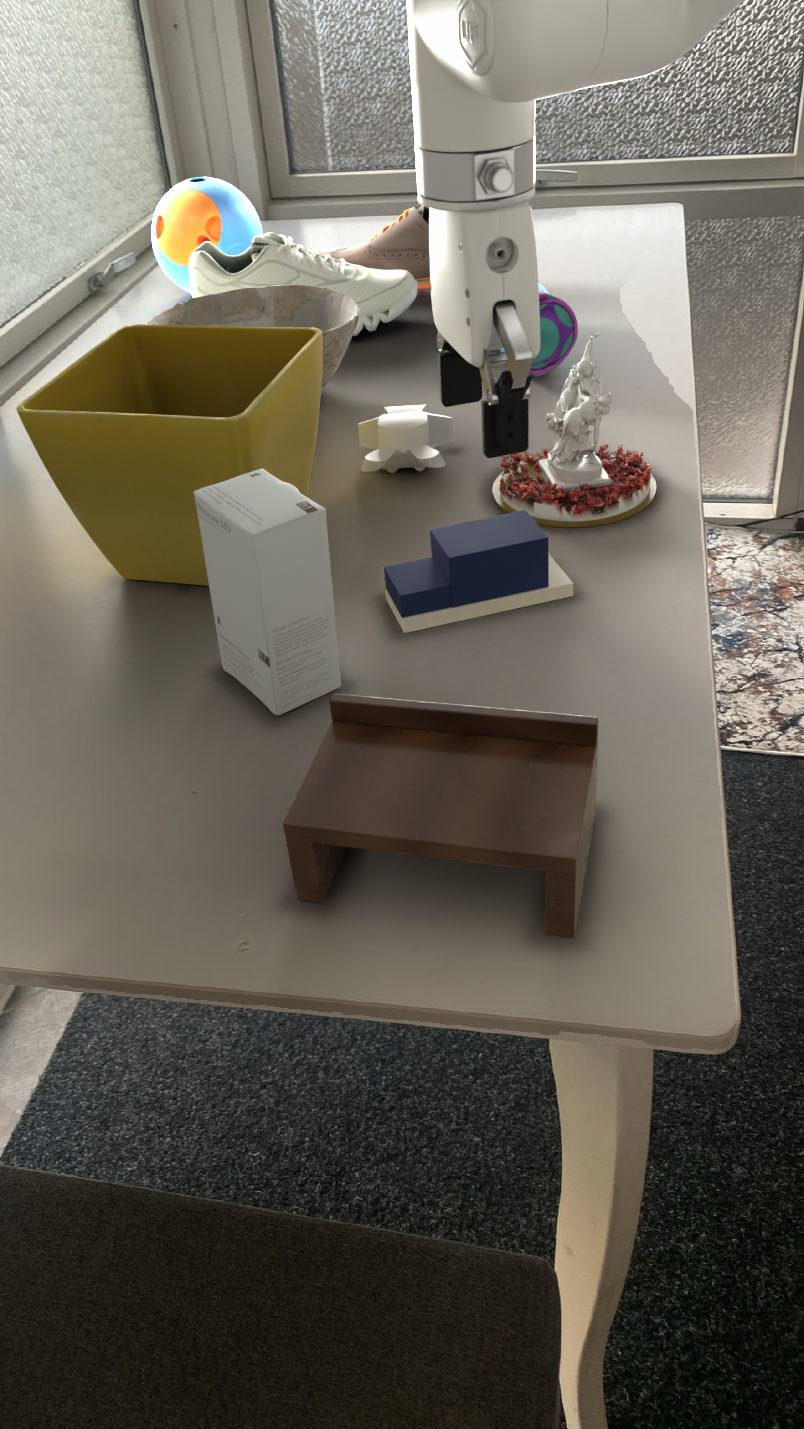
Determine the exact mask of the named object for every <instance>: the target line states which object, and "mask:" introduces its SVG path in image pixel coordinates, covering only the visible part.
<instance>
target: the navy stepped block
mask: <svg viewBox="0 0 804 1429" xmlns="http://www.w3.org/2000/svg"><path fill="white" fill-rule="evenodd" d="M429 538H430V551H431V556H430V557H425V558H421V559H415V560H410V561H406V562H405V561H404V562H401V563H396V564H391V565H386V566H384V567H383V574H384V575H383V576H384V583H385V587H384V591H385V592H384V593H385V600H386V602H387V604H388V606H389V608H390V610H391V611H392V613H393V615H394V617H395V619H396V621H397V622H398V625H399V626H400V628H401V630H402V631H403V634H406V633H411V632H416V631H420V630H425V629H430V628H434V627H439V626H443V625H448V624H452V623H457V622H462V621H466V620H470V619H475V618H479V617H485V616H489V615H492V614H498V613H502V612H506V611H507V612H508V611H511V610H516V609H521V608H525V607H530V606H535V605H540V604H544V603H547V602H552V601H558V600H562V599H566V598H571V597H574V582H573V581H572V580H571V579H570V577H569V576H568V575H567V573H565V570H563V569H562V568H561V566H560V565H559V564H558V562H556V560H555V559H554V558H553V557H552V555H551V554H550V553H549V549H550V546H549V545H550V544H549V543H550V540H549V538H550V537H549V536H548V535H547V533H546V532H545V531H544V530H543V529H542V528H541V527H540V524H537V523H536V522H535V521H534V520H533V518H532V517H531V516H530V515H529V514H528V512H527V511H526V510H523V511H518V512H513V513H503V514H498V515H493V516H489V517H483V518H479V519H474V520H471V521H470V520H469V521H465V522H459V523H455V524H450V525H445V526H441V527H435V528H430V529H429Z"/></svg>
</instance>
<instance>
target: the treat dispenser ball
mask: <svg viewBox="0 0 804 1429" xmlns="http://www.w3.org/2000/svg"><path fill="white" fill-rule="evenodd" d="M151 222H152V223H151V230H150V233H151V234H150V235H151V245H152V250H153V254H154V256H155V259H156V261H157V263H158V265H159V267H160V268H161V270H162V271H163V272H164V274H165V276H167V278H168V279H169V280H170V281H171V282H172V283H173V284H175V285H176V286H177V287H179V288H180V289H182V290H184V291H185V292H187V293H189V294H191V292H190V280H189V259H190V256H191V254H192V253H193V252H194V250H195V249H196V248H197V247H198V246H199V245H201V244H202V243H203V242H206V241H209V242H211V243H212V244H214V245H215V246H216V247H217V248H218V249H219V250H221V251H222V252H223V253H225V254H227V255H231V256H234V255H238V254H241V253H243V252H244V251H245V250H247V249H248V248H249V247H251V244H252V240H253V238H254V237H255V236H257V235H260V236H263V235H264V234H263V227H262V223H261V220H260V217H259V215H258V213H257V211H256V208H255V207H254V206H253V204H252V203H251V201H250V200H249V199H248V197H247V196H246V195H245V194H244V193H243V192H242V191H241V190H240V189H238V188H237V187H236V186H235V185H233V184H231V183H229V182H228V181H225V180H223V179H219V178H215V177H209V176H197V177H191V178H188V179H185V180H183V181H181V182H179V183H177V184H175V185H174V186H173V187H172V188H170V189H169V191H167V192H166V193H165V194H164V195H163V196H162V198H161V199H160V201H159V202H158V204H157V206H156V207H155V210H154V213H153V217H152V221H151Z"/></svg>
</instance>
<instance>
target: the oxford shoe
mask: <svg viewBox="0 0 804 1429" xmlns="http://www.w3.org/2000/svg"><path fill="white" fill-rule="evenodd" d="M429 215H430V208H427V207H425V206H422V205H421V204H418V205H415V206H413V207H411V208H408V209H406V210H404V211H403V213H401V215H399V216H398V217H397V219H396V220H394V221H393V222H392V223H391V224H390V225H386V226H384V227H383V228H382V229H381V231H380V233H379V232H376V233H374V234H373V236H372V238H371V239H370V240H369V241H367V242H364V243H361V244H356V245H349V246H338V247H325V246H323V247H313V248H309V249H308V250H309V251H311V252H313V250H314V249H317V250H318V253H319V254H322V255H326V254H328V255H330V257H332V258H334V259H338V260H340V259H344V260H345V262H348V263H351V264H354V265H360V266H363V267H365V268H370V269H379V270H406V271H408V272H410V273H411V274H412V275H413V277H414V279H415V280H416V281H417V283H418V288H419V290H423V289H431V284H430V250H429Z"/></svg>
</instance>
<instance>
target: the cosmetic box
mask: <svg viewBox="0 0 804 1429" xmlns="http://www.w3.org/2000/svg"><path fill="white" fill-rule="evenodd" d="M194 496H195V502H196V508H197V514H198V520H199V526H200V532H201V538H202V544H203V550H204V557H205V563H206V569H207V575H208V582H209V586H208V588H209V594H210V600H211V606H212V611H213V612H212V613H213V616H214V617H213V618H214V623H215V631H216V636H217V643H218V650H219V656H220V661H221V666H222V669H223V671H224V672H226V673H227V674H229V675H230V676H232V677H233V678H235V679H236V680H237V681H238V682H239V683H241V684H242V685H243V686H244V687H245V688H246V689H247V690H249V691H250V692H251V693H252V695H254V696H255V697H256V698H257V699H258V700H260V701H261V702H262V703H263V704H264V706H266V708H268V709H269V711H270V712H271V713H272V714H273V715H275V716H281V715H283V714H285V713H288V712H290V711H292V710H295V709H296V708H299V707H300V706H302V705H304V704H307V703H309V702H311V701H314V700H316V699H318V698H320V697H322V696H324V695H326V694H329V693H331V692H333V691H335V690H337V689H340V688H341V687H342V685H343V684H342V678H341V669H340V668H341V667H340V655H339V645H338V634H337V624H336V613H335V612H336V611H335V600H334V590H333V588H334V587H333V580H332V579H333V578H332V566H331V555H330V554H331V553H330V543H329V532H328V522H327V520H328V519H327V511H326V510H327V509H326V508H325V507H323V506H322V505H320V504H319V503H316V502H315V501H314V500H312V499H310V498H308V497H307V496H306V497H305V496H304V495H302V494H301V493H300V492H299V490H298V489H297V488H296V487H295V486H293V485H291V484H289V483H286V482H282V481H280V480H279V479H277V478H276V477H274V476H273V475H271V474H270V473H268V472H267V471H265V470H264V469H258V470H255V471H252V472H249V473H246V474H243V475H240V476H237V477H234V478H232V479H229V480H226V481H223V482H220V483H217V484H214V485H210V486H207V487H204V488H201V489H198V490H196V491H194Z"/></svg>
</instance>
